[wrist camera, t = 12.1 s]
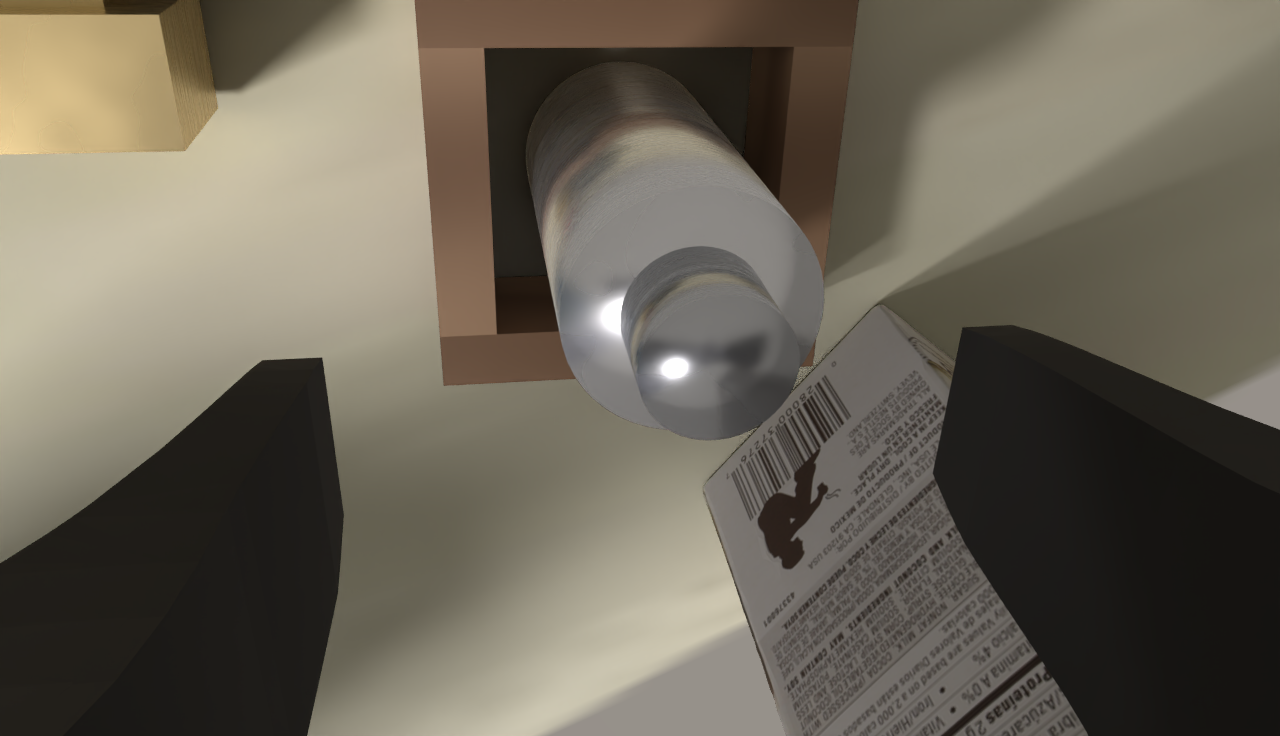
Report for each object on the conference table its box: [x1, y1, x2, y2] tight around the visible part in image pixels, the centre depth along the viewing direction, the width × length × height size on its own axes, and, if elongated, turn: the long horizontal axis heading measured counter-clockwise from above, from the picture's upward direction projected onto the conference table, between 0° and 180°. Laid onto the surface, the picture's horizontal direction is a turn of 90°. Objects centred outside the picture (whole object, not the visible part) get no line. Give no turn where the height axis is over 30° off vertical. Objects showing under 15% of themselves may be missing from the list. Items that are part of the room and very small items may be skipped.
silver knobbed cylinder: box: [526, 62, 824, 440], centre depth 16 cm, size 4×4×8 cm
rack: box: [415, 0, 859, 386], centre depth 18 cm, size 7×7×2 cm
